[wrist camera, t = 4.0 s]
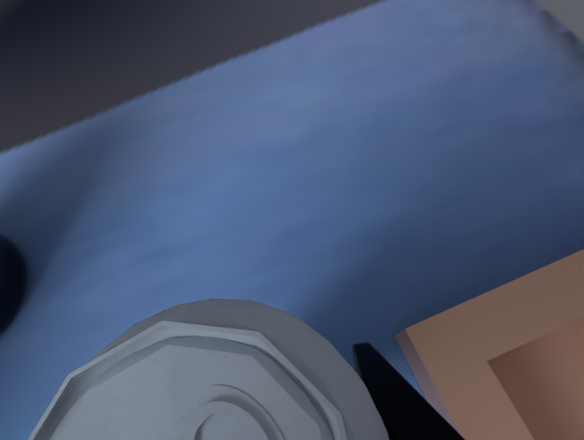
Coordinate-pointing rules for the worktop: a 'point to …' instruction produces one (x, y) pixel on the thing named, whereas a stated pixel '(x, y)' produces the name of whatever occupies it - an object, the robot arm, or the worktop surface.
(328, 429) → the beer can
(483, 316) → the holder
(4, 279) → the supplement bottle
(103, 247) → the worktop surface
